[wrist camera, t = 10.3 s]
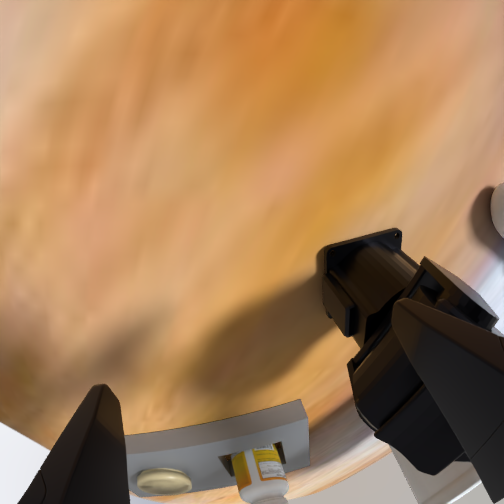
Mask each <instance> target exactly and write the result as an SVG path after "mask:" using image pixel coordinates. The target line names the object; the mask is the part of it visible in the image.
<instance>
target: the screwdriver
mask: <svg viewBox="0 0 504 504" xmlns="http://www.w3.org/2000/svg"><path fill="white" fill-rule="evenodd" d="M490 209H491V216H492V221H493V224H494V226H495V228H496V230H497V231H498V233H499V234H500V235H501V236H502V237H503V238H504V183H502V184H499V185H498V186H497V187H496V189H495V190H494V192H493V194H492V198H491V208H490Z"/></svg>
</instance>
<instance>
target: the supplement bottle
mask: <svg viewBox="0 0 504 504" xmlns="http://www.w3.org/2000/svg"><path fill="white" fill-rule="evenodd" d="M230 456H231V460H232V465H233V469H234V473H235V478H236V482H237V486H238V490H239V494H240V497H241V499H242V500H243V501H245V502H248V503H251V504H288V501H287V500H286V498H284V497H283V496H284V495H285V494H286V493H287V492H288V490H289V485H288V481H287V478H286V476H285V473H284V470H283V467H282V464H281V461H280V458H279V455H278V452H277V449H276V445H275V443H274V444H270V445H266V446H262V447H258V448H254V449H250V450H246V451H242V452H237V453H233V454H230Z"/></svg>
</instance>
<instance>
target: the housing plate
mask: <svg viewBox="0 0 504 504" xmlns="http://www.w3.org/2000/svg"><path fill="white" fill-rule="evenodd" d="M124 437H125V444H126V454H127V472H128V485H129V490H130V491H132V492H133V493H135V494H136V495H137V496H139V497H150V496H163V495H178V494H183V493H191V492H198V491H205V490H211V489H217V488H223V487H228V486H234V485H237V482H236V478H235V473H234V469H233V465H232V460H229V461H227V459H226V457H225V456H224V455H228V454H233V453H237V452H242V451H246V450H250V449H254V448H258V447H262V446H266V445H270V444H274V443H277V442H280V445H281V448H279V449H277V452H278V455H279V458H280V461H281V464H282V467H283V470H284V473H287V472H291V471H294V470H298V469H301V468H304V467H307V466H310V452H309V428H308V417H307V414H306V412H305V409H304V407H303V404H302V402H301V400H300V399H299V400H296V401H293V402H289V403H286V404H282V405H279V406H275V407H272V408H268V409H265V410H261V411H257V412H253V413H249V414H245V415H241V416H237V417H233V418H228V419H224V420H219V421H215V422H210V423H205V424H200V425H195V426H189V427H184V428H178V429H172V430H165V431H158V432H151V433H144V434H135V435H126V436H124Z"/></svg>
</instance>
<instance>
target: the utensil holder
mask: <svg viewBox="0 0 504 504" xmlns="http://www.w3.org/2000/svg"><path fill="white" fill-rule="evenodd" d="M389 446H390V448H391V450H392V452H393V454H394V456H395V458H396V460H397V462H398V464H399V465H400V468H401V470H402V472H403V474H404V476H405V478H406V480H407V482H408V484H409V486H410V488H411V490H412V492H413V494H414V496H415V498H416V500H417V502H418V504H451V503H453V502H454V501H456V500H457V499H459V498H461V497H462V496H464V495H465V494H467V493H468V492H469V491H471V490H472V489H474V488H475V487H476V486H477V485H479V484H480V483H482V481H481V479H480V478H479V476H478V474H477V472H476V470H475V468H474V467H473V465H472V463H470V462H452V463H451V464H450V465H449V466H448V467H446V468H445V469H444V470H442V471H441V472H440V473H439V474H437V475H435V476H432V475H429V474H426V473H423V472H420V471H418V470H417V469H416V468H415V467H414V466H413V465H412V464H411V463H410V462H409V461H408V460H407V459H406V458H405V457H404V456H403V455H402V454H401V453H400V452H399V451H397V450H396V449H395V448H393V447H392V446H391V445H389Z"/></svg>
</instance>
